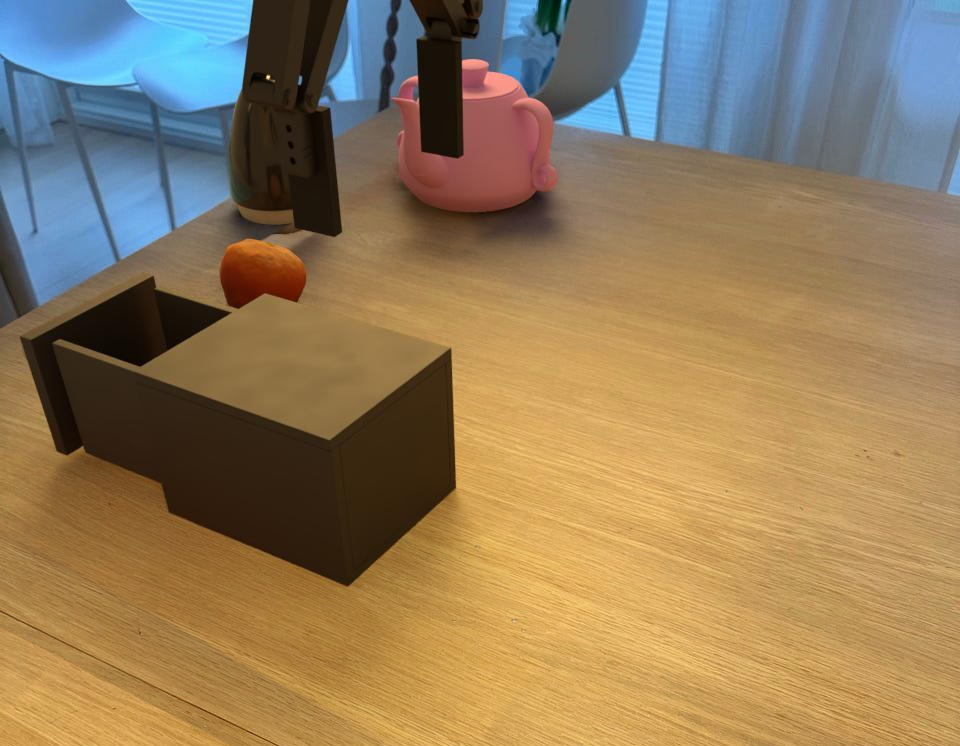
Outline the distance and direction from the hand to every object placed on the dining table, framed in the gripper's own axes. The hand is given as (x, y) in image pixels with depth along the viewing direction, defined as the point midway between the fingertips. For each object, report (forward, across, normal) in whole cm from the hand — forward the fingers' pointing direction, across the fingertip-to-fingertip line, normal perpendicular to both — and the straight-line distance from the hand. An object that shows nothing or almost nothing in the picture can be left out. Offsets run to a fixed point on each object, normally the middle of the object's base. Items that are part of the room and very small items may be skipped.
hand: (384, 190), depth 65 cm
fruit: (+24, +20, +28) cm, 42 cm away
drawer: (+22, -2, +21) cm, 31 cm away
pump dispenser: (+24, +38, +39) cm, 60 cm away
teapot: (+23, +53, +26) cm, 64 cm away
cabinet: (+23, -3, +6) cm, 24 cm away
